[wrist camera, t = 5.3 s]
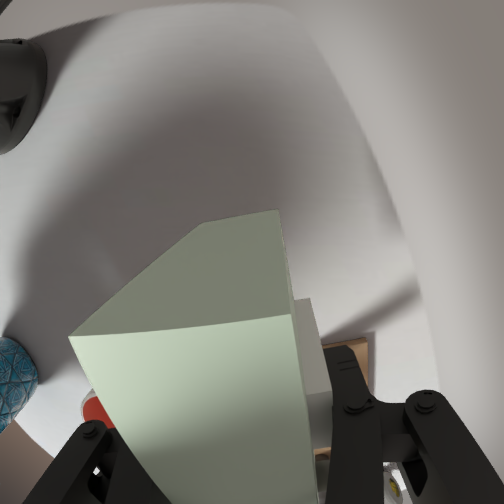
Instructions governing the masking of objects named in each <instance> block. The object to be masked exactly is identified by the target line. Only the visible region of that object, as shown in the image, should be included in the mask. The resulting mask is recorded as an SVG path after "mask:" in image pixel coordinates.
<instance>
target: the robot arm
mask: <svg viewBox="0 0 504 504" xmlns="http://www.w3.org/2000/svg"><path fill="white" fill-rule="evenodd" d="M11 2H12V0H0V15H1V14H2V13H3V11H4V10H5V9H6V7H7V6H8V5H9V4H10V3H11ZM46 77H47V64H46V58H45V55H44V52H43V50H42V49H41V47H40V46H39V45H37V44H35V43H33V42H30V41H28V40H25V39H19V38H18V39H6V40H0V155H1V154H5V153H7V152H9V151H10V150H12V149H13V148H14V147H15V146H16V145H17V144H18V143H19V142H20V141H21V140H22V139H23V137H24V136H25V134H26V133H27V131H28V130H29V128H30V126H31V125H32V123H33V121H34V119H35V117H36V114H37V112H38V109H39V107H40V104H41V101H42V98H43V94H44V90H45V84H46ZM294 306H295V313H296V320H297V327H298V335H299V342H300V350H301V358H302V365H303V374H304V382H305V390H306V398H307V405H308V413H309V421H310V428H311V436H312V445H313V450H315V449H321V448H327V447H331V454H330V464H329V474H328V483H327V491H326V499H325V504H384V474H383V462H396V463H397V466H398V468H399V471H400V473H401V475H402V478H403V480H404V483H405V485H406V488H407V490H408V493H409V495H410V498H411V500H412V502H413V504H504V484H503V483H502V481H501V479H500V478H499V476H498V475H497V473H496V471H495V470H494V468H493V466H492V465H491V463H490V462H489V460H488V459H487V457H486V456H485V454H484V453H483V451H482V450H481V448H480V447H479V445H478V444H477V442H476V441H475V439H474V438H473V436H472V435H471V433H470V432H469V430H468V429H467V427H466V426H465V425H464V423H463V422H462V420H461V419H460V418H459V416H458V415H457V413H456V412H455V410H454V409H453V408H452V407H451V405H450V404H449V402H448V401H447V400H446V398H445V397H444V396H443V395H442V394H441V393H439V392H437V391H434V390H421V391H417V392H415V393H413V394H411V395H410V396H409V397H408V398H407V399H406V402H405V403H385V402H382V401H379V400H377V399H376V398H375V397H374V396H373V395H371V394H370V392H369V389H368V387H367V384H366V381H365V379H364V376H363V374H362V371H361V368H360V366H359V363H358V361H357V358H356V355H355V353H354V351H353V350H352V349H351V348H350V347H348V346H347V345H341V346H335V347H330V348H324V349H322V345H321V341H320V337H319V333H318V329H317V325H316V321H315V317H314V313H313V309H312V305H311V301H310V298H307V299H301V300H295V301H294ZM96 467H97V468H98V469H99V470H100V472H99V473H98V474H97V475H95V474H94V473H93V471H94V470H95V468H96ZM22 504H172V503H171V502H170V501H169V499H168V498H167V497H166V496H165V495H164V494H163V492H162V491H161V490H160V489H159V487H158V486H157V485H156V484H155V482H154V481H153V480H152V479H151V477H150V476H149V475H148V473H147V472H146V471H145V469H144V468H143V467H142V465H141V464H140V463H139V461H138V460H137V458H136V457H135V456H134V454H133V453H132V451H131V450H130V448H129V447H128V445H127V444H126V442H125V441H124V439H123V438H122V436H121V435H120V433H119V432H118V430H117V429H116V428H109V429H108V428H107V426H106V425H105V423H104V422H103V421H100V420H89V421H86V422H84V423H83V424H81V425H80V426H79V427H78V428H77V429H76V430H75V432H74V433H73V434H72V436H71V437H70V438H69V440H68V441H67V442H66V444H65V445H64V446H63V448H62V449H61V450H60V452H59V453H58V455H57V456H56V457H55V459H54V460H53V461H52V463H51V464H50V466H49V467H48V468H47V470H46V471H45V472H44V474H43V475H42V477H41V478H40V479H39V481H38V482H37V483H36V485H35V486H34V488H33V489H32V491H31V492H30V493H29V495H28V496H27V498H26V499H25V500H24V502H23V503H22Z"/></svg>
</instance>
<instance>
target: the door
mask: <svg viewBox="0 0 504 504" xmlns="http://www.w3.org/2000/svg"><path fill="white" fill-rule="evenodd" d="M68 338H69V340H70V343H71V345H72V347H73V349H74V351H75V353H76V356H77V358H78V360H79V362H80V364H81V366H82V368H83V370H84V372H85V374H86V376H87V378H88V380H89V382H90V384H91V386H92V387H93V389H94V391H95V393H96V395H97V397H98V398H99V400H100V402H101V404H102V405H103V407H104V409H105V411H106V412H107V414H108V416H109V417H110V419H111V421H112V422H113V424H114V425H115V427H116V429H117V430H118V432H119V433H120V435H121V436H122V438H123V439H124V441H125V442H126V444H127V445H128V447H129V448H130V450H131V451H132V453H133V454H134V456H135V457H136V458H137V460H138V461H139V463H140V464H141V465H142V467H143V468H144V469H145V471H146V472H147V473H148V475H149V476H150V477H151V479H152V480H153V481H154V482H155V484H156V485H157V486H158V487H159V489H160V490H161V491H162V492H163V494H164V495H165V496H166V497H167V498H168V499H169V501H170V502H171V503H172V504H319V497H318V492H323V491H327V483H328V474H329V464H330V459H329V460H323V461H317V462H315V455H314V450H313V445H312V436H311V428H310V421H309V413H308V405H307V398H306V390H305V382H304V374H303V365H302V358H301V350H300V342H299V335H298V327H297V320H296V313H295V306H294V299H293V292H292V286H291V280H290V274H289V268H288V262H287V257H286V251H285V245H284V239H283V234H282V228H281V222H280V217H279V211H278V209H274V210H268V211H263V212H257V213H252V214H247V215H241V216H236V217H231V218H225V219H220V220H215V221H210V222H205V223H201V224H199V225H198V226H197V227H196V228H194V229H193V230H192V231H191V232H189V233H188V234H187V235H186V236H184V237H183V238H182V239H181V240H179V241H178V242H177V243H176V244H174V245H173V246H172V247H171V248H169V249H168V250H167V251H166V252H165V253H163V254H162V255H161V256H160V257H158V258H157V259H156V260H155V261H154V262H152V263H151V264H150V265H149V266H148V267H146V268H145V269H144V270H143V271H142V272H140V273H139V274H138V275H137V276H136V277H135V278H133V279H132V280H131V281H130V282H129V283H128V284H126V285H125V286H124V287H123V288H122V289H121V290H119V291H118V292H117V293H116V294H115V295H114V296H113V297H111V298H110V299H109V300H108V301H107V302H106V303H105V304H103V305H102V306H101V307H100V308H99V309H98V310H97V311H96V312H94V313H93V314H92V315H91V316H90V317H89V318H88V319H87V320H85V321H84V322H83V323H82V324H81V325H80V326H79V327H78V328H77V329H76V330H74V331H73V332H72V333H71V334H70V335H69V336H68Z"/></svg>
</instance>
